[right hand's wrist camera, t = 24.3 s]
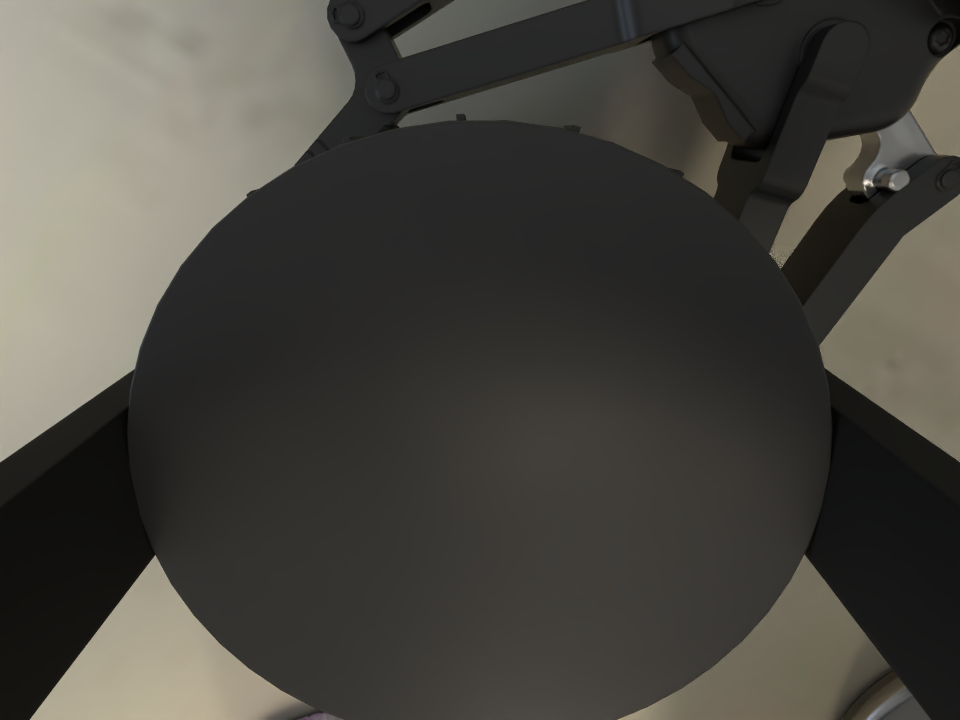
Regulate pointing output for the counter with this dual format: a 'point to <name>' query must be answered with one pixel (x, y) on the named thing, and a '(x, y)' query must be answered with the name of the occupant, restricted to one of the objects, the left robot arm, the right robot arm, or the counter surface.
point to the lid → (479, 428)
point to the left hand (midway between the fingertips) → (388, 402)
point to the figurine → (320, 717)
